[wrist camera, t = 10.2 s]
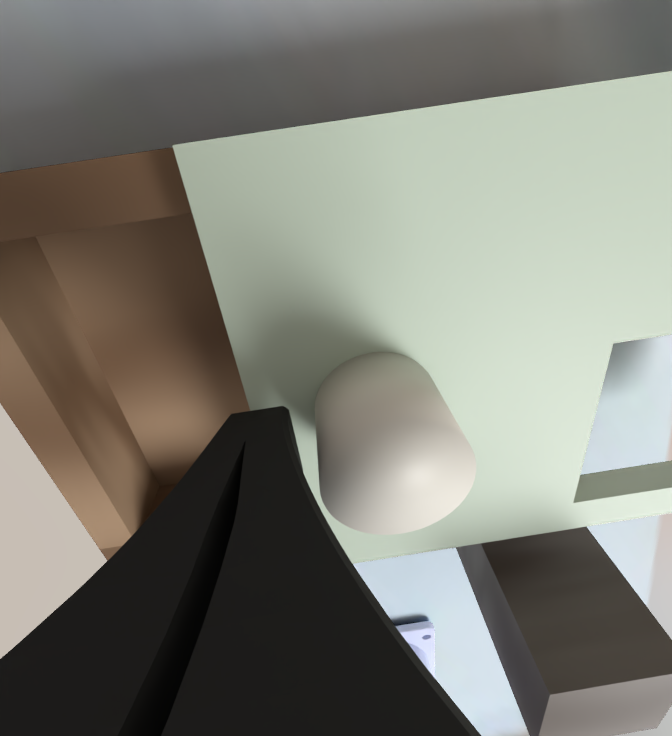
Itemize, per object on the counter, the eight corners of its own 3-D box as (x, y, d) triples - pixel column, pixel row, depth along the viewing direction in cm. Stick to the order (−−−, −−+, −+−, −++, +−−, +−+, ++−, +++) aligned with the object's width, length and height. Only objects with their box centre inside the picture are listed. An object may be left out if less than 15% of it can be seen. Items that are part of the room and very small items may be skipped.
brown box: (523, 434, 17) (573, 498, 14) (148, 492, 17) (114, 571, 13) (571, 92, 11) (679, 71, 8) (-16, 179, 11) (-142, 194, 8)
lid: (755, 472, 14) (886, 566, 11) (297, 544, 13) (297, 661, 10) (1005, 23, 8) (1472, -57, 5) (186, 144, 7) (111, 144, 4)
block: (530, 522, 20) (656, 727, 13) (451, 536, 20) (535, 748, 13) (539, 464, 18) (694, 670, 11) (451, 479, 18) (550, 695, 11)
